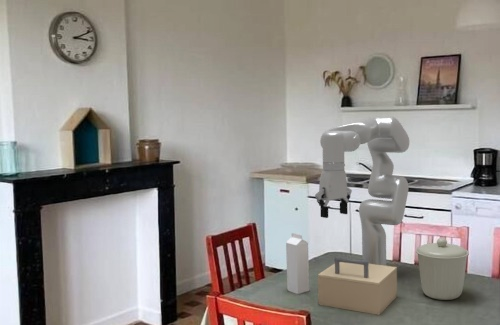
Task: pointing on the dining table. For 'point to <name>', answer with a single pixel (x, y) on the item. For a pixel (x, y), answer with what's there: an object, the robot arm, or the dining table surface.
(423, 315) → the dining table surface
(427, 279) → the canister
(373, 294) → the carton
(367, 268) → the carton lid
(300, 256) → the milk
